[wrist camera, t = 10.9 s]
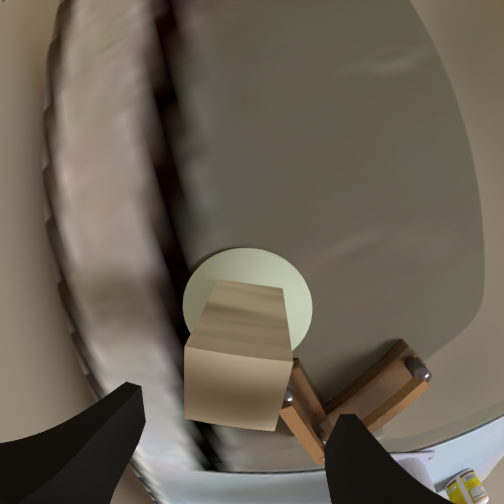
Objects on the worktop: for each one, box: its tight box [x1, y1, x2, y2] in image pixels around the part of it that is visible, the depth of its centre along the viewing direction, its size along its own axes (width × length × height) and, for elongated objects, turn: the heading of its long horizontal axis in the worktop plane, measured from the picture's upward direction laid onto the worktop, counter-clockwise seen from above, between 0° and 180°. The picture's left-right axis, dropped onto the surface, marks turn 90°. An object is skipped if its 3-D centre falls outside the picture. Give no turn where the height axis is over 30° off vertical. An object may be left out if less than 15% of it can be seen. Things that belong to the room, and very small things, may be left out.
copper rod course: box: [280, 339, 432, 465], centre depth 18 cm, size 12×12×4 cm
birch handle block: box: [184, 279, 293, 431], centre depth 14 cm, size 4×4×8 cm
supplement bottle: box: [445, 469, 489, 504], centre depth 19 cm, size 6×6×10 cm
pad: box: [183, 247, 312, 350], centre depth 18 cm, size 8×8×1 cm
